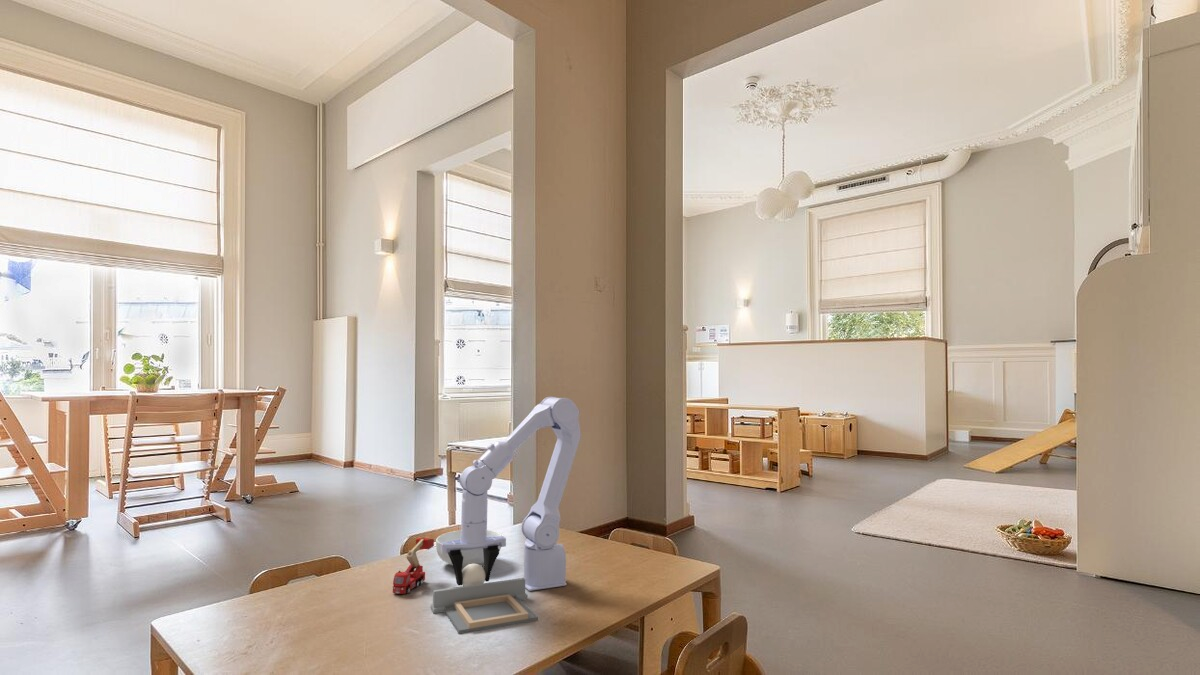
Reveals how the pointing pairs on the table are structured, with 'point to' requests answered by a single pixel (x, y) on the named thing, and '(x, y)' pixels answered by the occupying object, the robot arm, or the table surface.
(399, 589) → the toy fire truck
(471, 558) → the cereal bowl
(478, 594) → the grey barrier bar
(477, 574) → the ball
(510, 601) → the resting mat
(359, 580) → the table surface
